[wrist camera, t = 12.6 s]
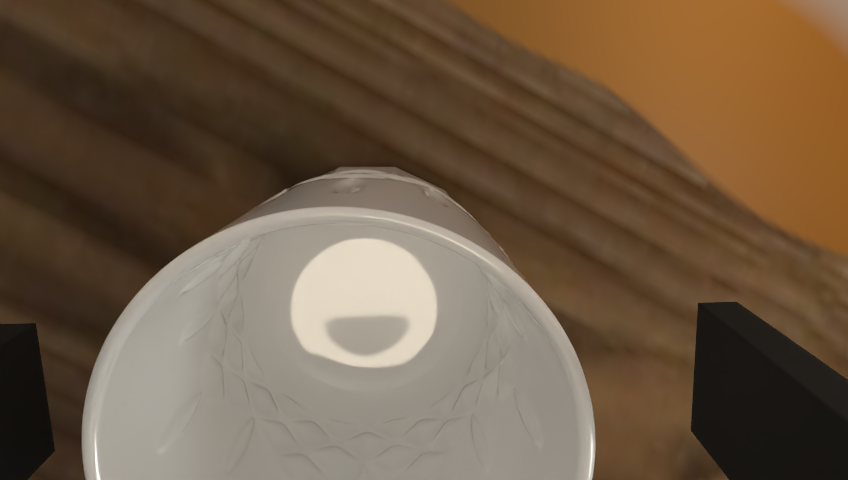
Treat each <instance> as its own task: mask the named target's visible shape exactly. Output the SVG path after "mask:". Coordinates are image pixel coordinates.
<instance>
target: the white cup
mask: <svg viewBox="0 0 848 480" xmlns="http://www.w3.org/2000/svg"><path fill="white" fill-rule="evenodd" d="M82 459H83V467H84V474H85V479H86V480H592V479H593V472H594V463H595V423H594V414H593V408H592V402H591V397H590V393H589V389H588V385H587V382H586V378H585V375H584V372H583V370H582V367H581V364H580V362H579V359H578V357H577V355H576V352H575V350H574V348H573V346H572V344H571V342H570V340H569V338H568V337H567V335H566V333H565V331H564V330H563V328H562V326H561V325H560V323H559V322H558V320H557V319H556V317H555V316H554V314H553V313H552V312H551V310H550V309H549V308H548V306H547V305H546V304H545V303H544V301H543V300H542V299H541V298H540V296H539V295H538V294H537V293H536V292H535V290H534V289H533V288H532V287H531V285H530V284H529V283H528V281H527V280H526V279H525V278H524V276H523V275H522V274H521V273H520V272H519V270H518V269H517V268H516V267H515V266H514V264H513V263H512V261H511V260H510V259H509V257H508V256H507V254H506V253H505V252H504V250H503V249H502V248H501V247H500V245H499V244H498V243H497V242H496V240H495V239H494V238H493V237H492V236H491V235H490V234H489V233H488V232H487V231H486V230H485V229H484V228H483V227H482V226H481V225H480V224H479V223H478V222H477V221H476V220H475V219H474V218H473V217H472V215H471V214H470V213H469V212H467V211H466V210H465V209H464V208H463V207H462V206H461V205H460V204H458V203H457V202H456V201H454V200H453V199H452V198H451V197H450V196H449V195H448V193H447V192H446V191H445V190H444V189H441V188H439V187H437V186H435V185H433V184H431V183H429V182H427V181H424V180H422V179H420V178H418V177H416V176H414V175H412V174H410V173H407V172H405V171H403V170H401V169H399V168H397V167H339V168H337V169H334V170H332V171H330V172H328V173H326V174H324V175H322V176H318V177H315V178H311V179H308V180H306V181H303V182H301V183H298V184H296V185H294V186H292V187H291V188H288V189H285V190H283V191H282V192H280V193H278V194H276V195H275V196H273V197H271V198H269V199H268V200H266V201H264V202H263V203H261V204H259V205H258V206H256V207H255V208H253V209H251V210H250V211H248V212H247V213H245V214H244V215H242V216H241V217H239V218H238V219H236V220H234V221H233V222H231V223H230V224H228V225H227V226H225V227H224V228H222V229H220V230H219V231H217V232H216V233H214V234H212V235H211V236H209V237H207V238H206V239H204V240H203V241H201V242H199V243H198V244H196V245H194V246H193V247H191V248H190V249H188V250H186V251H185V252H183V253H182V254H181V255H179V256H178V257H176V258H175V259H174V260H172V261H171V262H170V263H169V264H167V265H166V266H165V267H164V268H163V269H161V270H160V271H159V272H158V273H157V274H156V275H155V276H154V277H153V278H152V279H150V280H149V281H148V282H147V283H146V284H145V286H144V287H143V288H142V289H141V290H140V291H139V292H138V293H137V294H136V295H135V297H134V298H133V299H132V300H131V301H130V303H129V304H128V305H127V307H126V308H125V309H124V311H123V312H122V313H121V315H120V316H119V318H118V319H117V321H116V322H115V324H114V326H113V327H112V329H111V331H110V332H109V334H108V336H107V338H106V340H105V342H104V344H103V346H102V348H101V350H100V353H99V355H98V357H97V360H96V363H95V365H94V368H93V371H92V374H91V377H90V381H89V384H88V388H87V393H86V398H85V403H84V410H83V418H82Z"/></svg>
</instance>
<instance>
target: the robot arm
mask: <svg viewBox="0 0 848 480" xmlns="http://www.w3.org/2000/svg"><path fill="white" fill-rule="evenodd" d="M691 431H692V432H693V434H694V435H695V436H696V438H697V439H698V440H699V441H700V443H701V444H702V445H703V447H704V448H705V449H706V450H707V452H708V453H709V454H710V455H711V457H712V458H713V459H714V461H715V462H716V463H717V464H718V466H719V467H720V468H721V470H722V471H723V472H724V473H725V475H726V476H727V477H728V479H729V480H848V380H847V379H846V378H845V377H843V376H842V375H840V374H839V373H837V372H836V371H835V370H833V369H832V368H830V367H829V366H827V365H826V364H825V363H823V362H822V361H820V360H819V359H817V358H816V357H815V356H813V355H812V354H810V353H809V352H807V351H806V350H805V349H803V348H802V347H800V346H799V345H797V344H796V343H795V342H793V341H792V340H790V339H789V338H788V337H786V336H785V335H783V334H782V333H780V332H779V331H778V330H776V329H775V328H773V327H772V326H770V325H769V324H768V323H766V322H765V321H763V320H762V319H760V318H759V317H758V316H756V315H755V314H753V313H752V312H750V311H749V310H748V309H746V308H745V307H743V306H742V305H740V304H739V303H738V302H715V303H698V315H697V333H696V350H695V368H694V386H693V403H692V421H691ZM54 451H55V448H54V441H53V434H52V428H51V421H50V415H49V408H48V401H47V395H46V388H45V382H44V375H43V368H42V362H41V355H40V348H39V342H38V335H37V329H36V323H31V324H0V480H27V479H28V478H29V477H30V476H31V475H32V474H33V473H34V472H35V471H36V470H37V469H38V468H39V467H40V466H41V465H42V464H43V463H44V462H45V461H46V460H47V458H48V457H49V456H50V455H51V454H52V453H53V452H54Z"/></svg>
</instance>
